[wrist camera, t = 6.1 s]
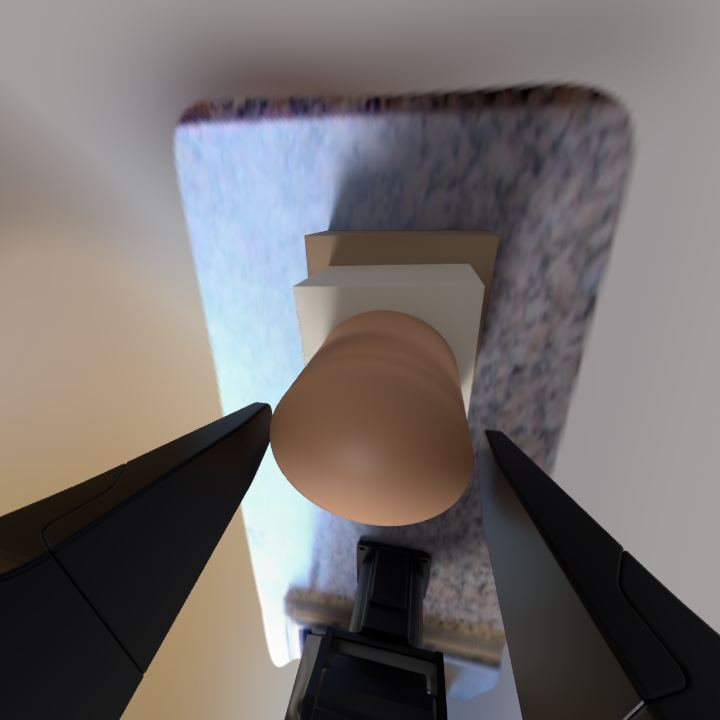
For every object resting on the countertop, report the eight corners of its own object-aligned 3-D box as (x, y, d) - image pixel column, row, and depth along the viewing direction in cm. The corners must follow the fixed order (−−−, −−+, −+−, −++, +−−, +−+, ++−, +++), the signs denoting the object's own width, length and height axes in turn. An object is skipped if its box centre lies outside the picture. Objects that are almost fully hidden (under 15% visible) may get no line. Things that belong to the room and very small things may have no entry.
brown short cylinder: (448, 439, 12) (457, 540, 8) (322, 423, 12) (282, 509, 9) (468, 314, 9) (493, 379, 6) (313, 306, 10) (254, 359, 7)
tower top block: (455, 389, 15) (463, 444, 11) (339, 381, 16) (314, 429, 13) (469, 263, 12) (484, 285, 9) (328, 266, 14) (293, 286, 10)
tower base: (461, 369, 19) (469, 406, 15) (337, 359, 20) (318, 391, 17) (483, 229, 15) (499, 236, 12) (330, 230, 17) (304, 235, 13)
